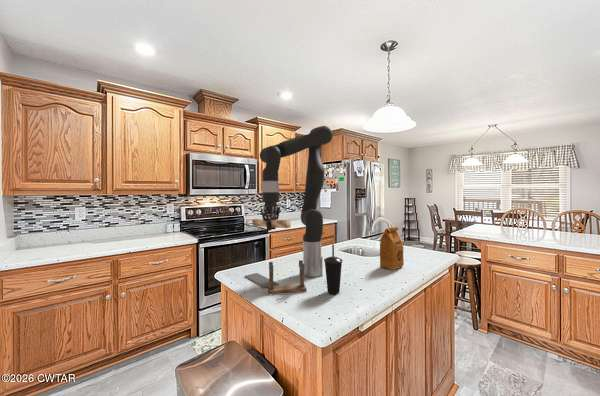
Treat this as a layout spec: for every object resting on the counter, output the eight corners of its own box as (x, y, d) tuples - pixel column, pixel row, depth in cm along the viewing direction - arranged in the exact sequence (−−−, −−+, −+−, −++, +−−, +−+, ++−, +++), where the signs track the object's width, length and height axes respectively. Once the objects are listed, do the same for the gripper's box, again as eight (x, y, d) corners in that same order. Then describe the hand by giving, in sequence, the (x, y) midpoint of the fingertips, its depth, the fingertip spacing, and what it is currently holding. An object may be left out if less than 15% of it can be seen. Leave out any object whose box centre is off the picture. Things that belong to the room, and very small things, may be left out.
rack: (304, 287, 111) (304, 260, 111) (306, 292, 105) (306, 263, 105) (267, 289, 109) (267, 262, 108) (268, 295, 103) (267, 265, 103)
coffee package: (406, 267, 137) (406, 227, 137) (393, 271, 130) (392, 229, 130) (391, 263, 146) (390, 225, 145) (377, 267, 138) (376, 227, 138)
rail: (290, 227, 111) (290, 220, 111) (287, 228, 108) (287, 221, 108) (256, 225, 118) (255, 219, 118) (252, 226, 115) (252, 219, 115)
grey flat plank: (244, 276, 126) (244, 275, 126) (256, 273, 130) (256, 272, 130) (265, 288, 110) (265, 287, 110) (278, 284, 115) (278, 283, 115)
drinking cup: (338, 297, 100) (337, 247, 99) (321, 293, 104) (320, 245, 103) (345, 291, 106) (345, 243, 106) (329, 287, 110) (328, 242, 110)
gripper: (269, 191, 105) (270, 232, 105) (285, 191, 118) (285, 228, 118) (254, 191, 108) (255, 231, 108) (271, 191, 121) (271, 227, 121)
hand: (271, 229), depth 113 cm, fingers closed on rail, 3 cm apart
